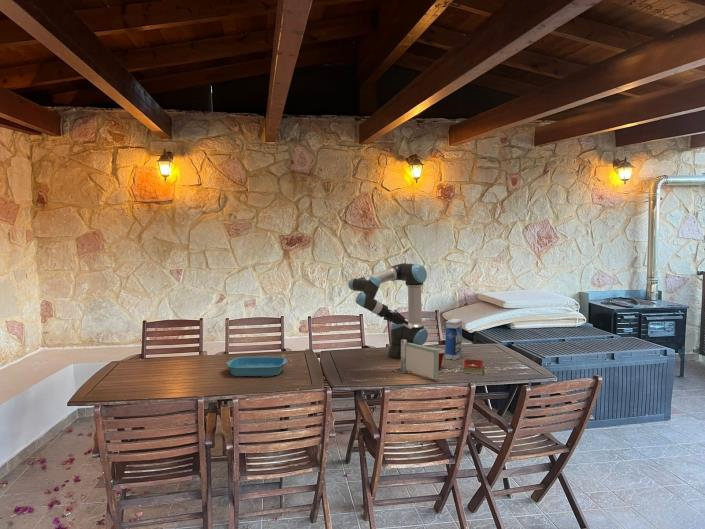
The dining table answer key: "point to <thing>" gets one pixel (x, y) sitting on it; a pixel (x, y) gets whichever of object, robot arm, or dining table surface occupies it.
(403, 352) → the post
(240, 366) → the casserole dish
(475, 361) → the hardcover book
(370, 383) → the dining table surface
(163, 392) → the dining table surface
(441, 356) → the plastic cup
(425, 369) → the beige panel
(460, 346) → the string lights box
